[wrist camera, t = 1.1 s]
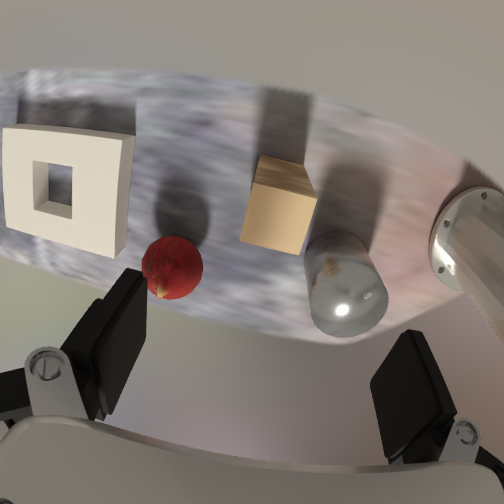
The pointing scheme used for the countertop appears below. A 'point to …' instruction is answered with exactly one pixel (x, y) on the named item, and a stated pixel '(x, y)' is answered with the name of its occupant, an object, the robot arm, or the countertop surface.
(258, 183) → the square peg
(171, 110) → the countertop surface
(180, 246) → the onion
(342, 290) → the round peg
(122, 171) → the socket block
